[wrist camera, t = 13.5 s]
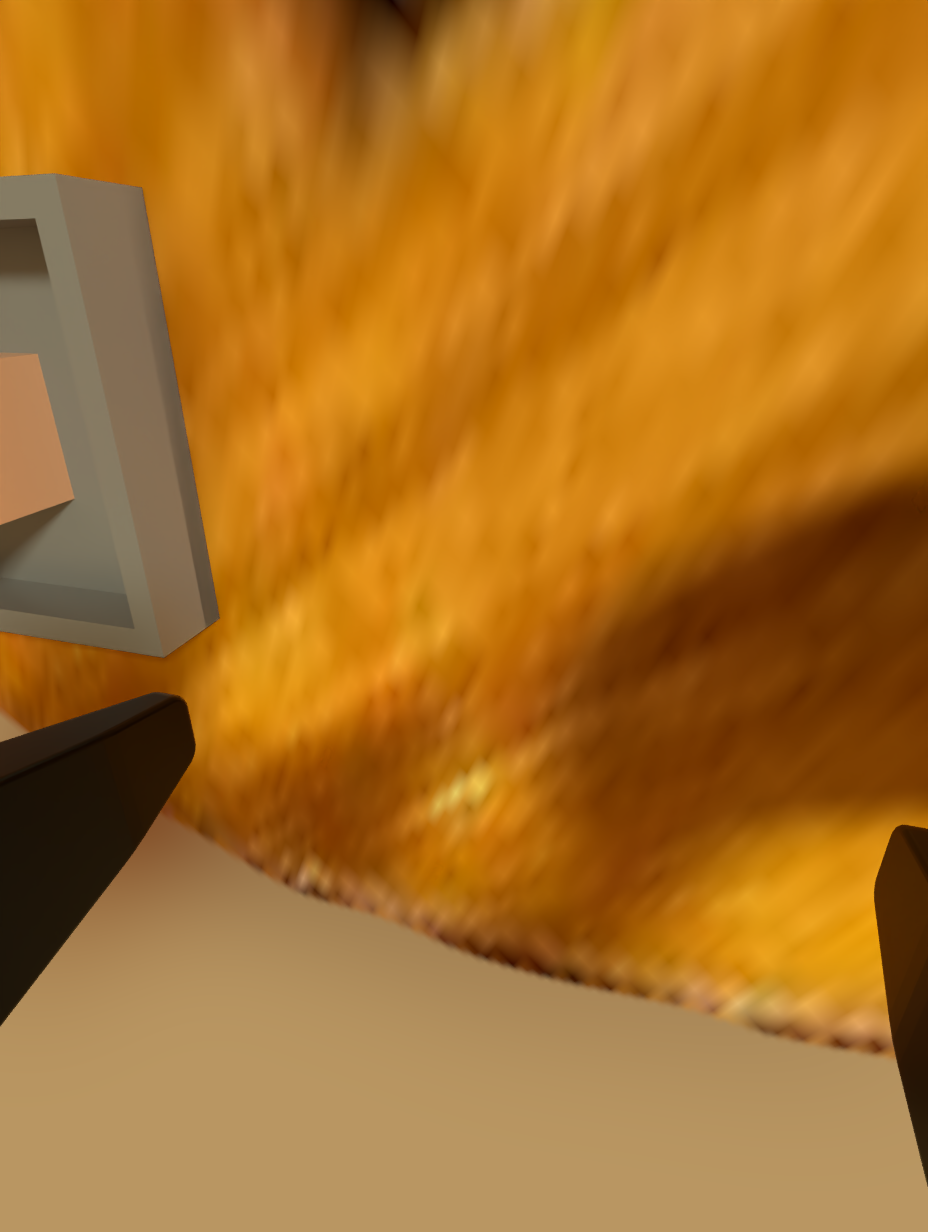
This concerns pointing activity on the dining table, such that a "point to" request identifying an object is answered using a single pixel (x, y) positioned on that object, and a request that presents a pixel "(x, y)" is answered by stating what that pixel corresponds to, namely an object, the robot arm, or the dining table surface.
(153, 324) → the tote
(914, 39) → the dining table surface
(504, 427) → the dining table surface
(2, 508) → the carton
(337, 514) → the dining table surface
